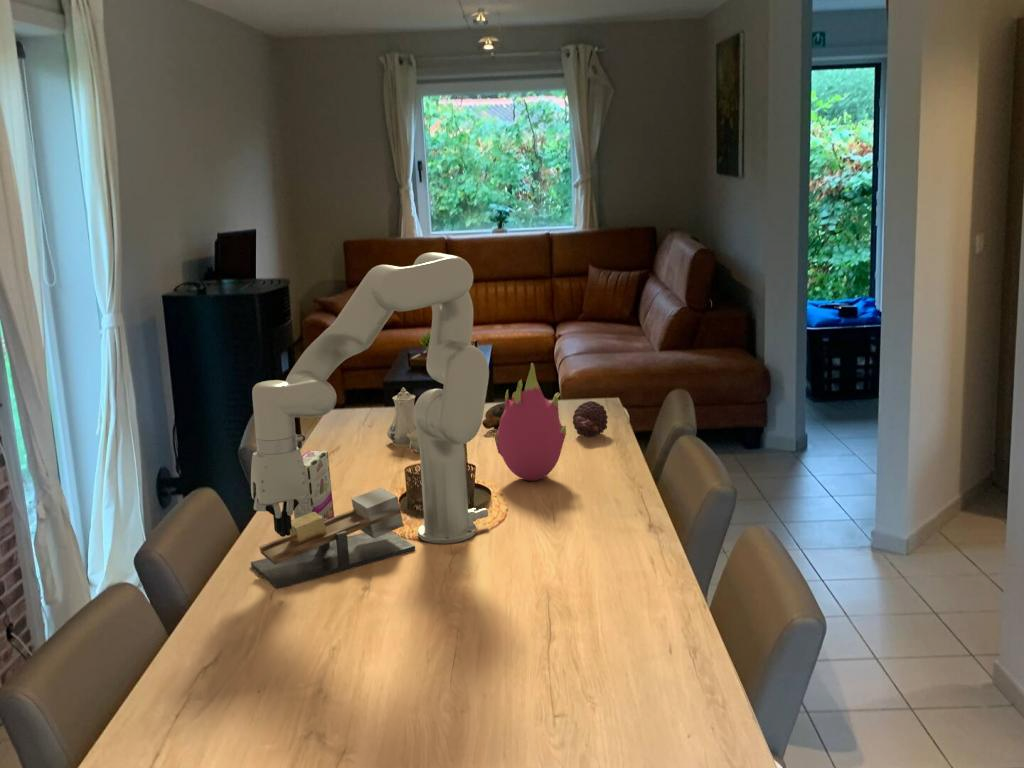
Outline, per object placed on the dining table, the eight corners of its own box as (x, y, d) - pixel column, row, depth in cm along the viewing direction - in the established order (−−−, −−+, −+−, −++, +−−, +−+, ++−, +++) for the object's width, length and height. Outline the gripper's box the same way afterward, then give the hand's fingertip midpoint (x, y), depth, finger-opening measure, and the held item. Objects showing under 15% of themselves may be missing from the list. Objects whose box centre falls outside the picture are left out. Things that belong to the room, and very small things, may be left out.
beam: (387, 516, 216) (380, 487, 214) (403, 526, 210) (397, 496, 208) (264, 566, 202) (256, 536, 200) (278, 578, 196) (270, 547, 194)
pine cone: (572, 428, 296) (571, 394, 294) (606, 427, 295) (605, 393, 293) (573, 445, 279) (572, 409, 276) (609, 443, 278) (609, 408, 276)
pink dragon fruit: (571, 471, 256) (567, 355, 249) (564, 489, 243) (560, 366, 236) (502, 470, 259) (496, 355, 252) (491, 487, 246) (485, 367, 239)
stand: (384, 531, 220) (382, 501, 219) (415, 550, 209) (413, 518, 207) (251, 566, 204) (247, 534, 203) (276, 589, 193) (273, 555, 191)
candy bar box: (314, 518, 230) (308, 449, 226) (335, 519, 229) (329, 450, 225) (294, 537, 219) (287, 464, 216) (316, 538, 218) (309, 465, 215)
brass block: (318, 529, 206) (314, 511, 205) (327, 535, 202) (323, 517, 201) (291, 540, 203) (286, 522, 202) (300, 546, 199) (295, 528, 198)
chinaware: (440, 462, 274) (442, 402, 271) (378, 457, 275) (380, 398, 271) (449, 433, 302) (452, 379, 298) (393, 430, 302) (395, 375, 298)
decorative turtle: (534, 425, 300) (533, 399, 298) (499, 440, 290) (497, 414, 288) (510, 419, 307) (509, 394, 304) (475, 433, 297) (473, 407, 294)
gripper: (305, 434, 203) (311, 521, 207) (232, 447, 194) (240, 537, 198) (320, 442, 196) (326, 531, 200) (245, 455, 188) (253, 548, 192)
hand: (283, 534), depth 199 cm, fingers closed
